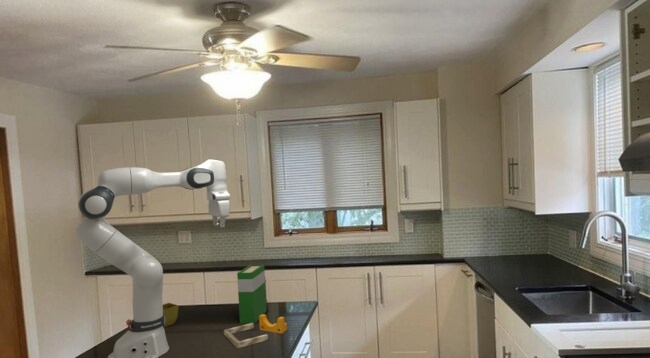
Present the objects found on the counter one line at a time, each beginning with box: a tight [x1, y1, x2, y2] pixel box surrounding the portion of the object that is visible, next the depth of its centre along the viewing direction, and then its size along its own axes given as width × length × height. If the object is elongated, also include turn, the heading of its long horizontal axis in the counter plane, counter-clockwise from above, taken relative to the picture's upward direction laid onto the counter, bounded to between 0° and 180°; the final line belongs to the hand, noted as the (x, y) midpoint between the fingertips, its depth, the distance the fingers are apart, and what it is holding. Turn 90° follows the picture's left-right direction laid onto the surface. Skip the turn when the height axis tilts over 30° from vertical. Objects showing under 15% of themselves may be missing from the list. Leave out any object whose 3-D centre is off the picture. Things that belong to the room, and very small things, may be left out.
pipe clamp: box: [258, 313, 288, 334], centre depth 179 cm, size 12×4×6 cm, turn 63°
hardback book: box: [236, 264, 268, 325], centre depth 197 cm, size 18×7×24 cm, turn 170°
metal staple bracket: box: [223, 323, 269, 349], centre depth 172 cm, size 14×18×2 cm
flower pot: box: [163, 302, 179, 328], centre depth 192 cm, size 9×9×9 cm
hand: (219, 226), depth 177 cm, fingers open, 8 cm apart
